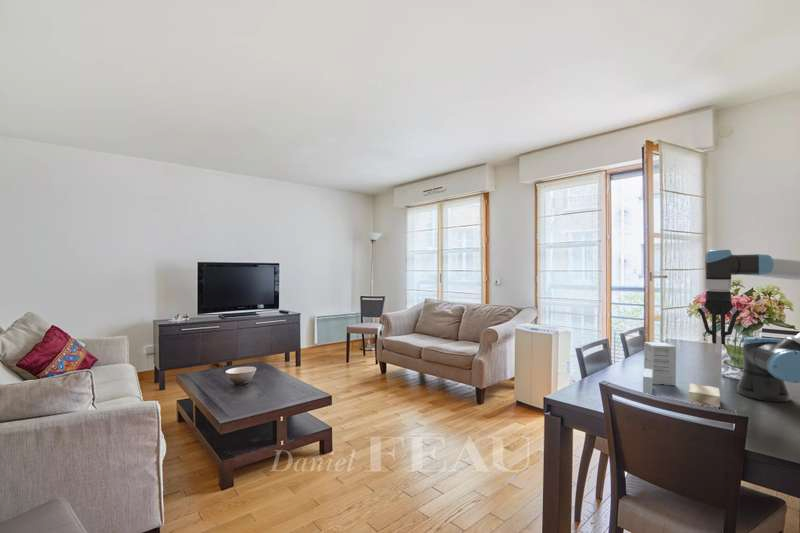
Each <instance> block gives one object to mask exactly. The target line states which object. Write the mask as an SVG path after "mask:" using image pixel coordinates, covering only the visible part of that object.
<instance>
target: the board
mask: <svg viewBox="0 0 800 533" xmlns="http://www.w3.org/2000/svg"><path fill="white" fill-rule="evenodd" d="M642 376H643V377H642V393H643V392H644V393H648V394H652V395H653V384H652V379H653V369H646V368H644V367H643V374H642Z"/></svg>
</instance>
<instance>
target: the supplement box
mask: <svg viewBox="0 0 800 533" xmlns="http://www.w3.org/2000/svg"><path fill="white" fill-rule="evenodd" d="M676 348H677V346H675V345H672V344H670V343H668V342H662V341H661V342H660V341H659V342H658V341H657V342H656V341H654V342H653V341H644V343H643V351H644V352H643V354H644V355H643V356H644V357H643V358H644V361H643V369H644V368H646V369H653V379H652V385H660V384H664V386H676V385H677V384H676V381H677V380H676V379H677V378H676V377H677V376H676V375H677V373H676V372H677V369H676V368H677V363H676V362H677V361H676V360H677V359H676V357H677V356H676V355H677V351H676Z"/></svg>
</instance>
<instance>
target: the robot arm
mask: <svg viewBox="0 0 800 533" xmlns="http://www.w3.org/2000/svg"><path fill="white" fill-rule="evenodd" d="M704 263H705V289H706V291H705V302H704V304H703V305H702V306H701V307H700V306H699V307H697V312H698V313H699V315H700V317H701V319H702V322H703V326H704V329H705V332H706V333H707V334H709V335H711V343H712V344H715V353H716V354H722V345H725V344H726V336H730V335H732V334H733V331H734V327H735V324H736V321H737V318H738V316H739V315H740V314H742V313H741V312H742V311H741V310H740V309H738V308H736V307H734V304H733V303H732V292H731V290H732V276H736V275H737V276H738V275H740V276H741V275H745V276H755V277H764V278H772V279H784V280H791V281H792V280H794V281H800V260H798V259H797V260H796V259H795V260H794V259H785V258H784V259H783V258H773V257H772V256H771V255H769V254H760V253H757V254H756V253H755V254H753V253H752V254H733V253H732V250H730V249H708V250H707V251H706V252H705V261H704ZM706 310H707V311H708V312H709V313H710V315H711V329H710V326H709V323H708V321H707V317H706V313H705V312H706ZM730 311H731V313H732V315H731V318H730V320H729V324H728V327H727V330H726V315H728V314H729V312H730ZM717 316H720V334H717ZM742 347H743V348H742V352H743V354H742V356H743V357H742V365H743V366H742V367H743V369H742V375H741V378H740V379H739V382H738V384H737V386H736V389H737V390H736V391H737V393H738V394H739V395H742V396H745V397H747V398H750V399H754V400H758V401H759V400H760V401H765V402H773V403H786V402H789V401H790V393H789V390H788V387H787V385H786V383H787V382H788V383H794V384H798V383H799V384H800V331H799V332H798V333H797V334H795V336H794V335H793V336H785V337H783V338H782V339H781V338H772V337H771V338H770V337H755V336H753V337H750V336H748V337H745V338H744V339H743V344H742ZM785 382H786V383H785Z"/></svg>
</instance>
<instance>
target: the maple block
mask: <svg viewBox="0 0 800 533" xmlns="http://www.w3.org/2000/svg"><path fill="white" fill-rule="evenodd" d="M688 388H689V389H688V403H689V402H691V403H695V404H701V405H708V406H710V405H713V406H716V407H720V408H721V392H720V388H719V387H716V386H709V385H703V384H697V383H689V387H688Z"/></svg>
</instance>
